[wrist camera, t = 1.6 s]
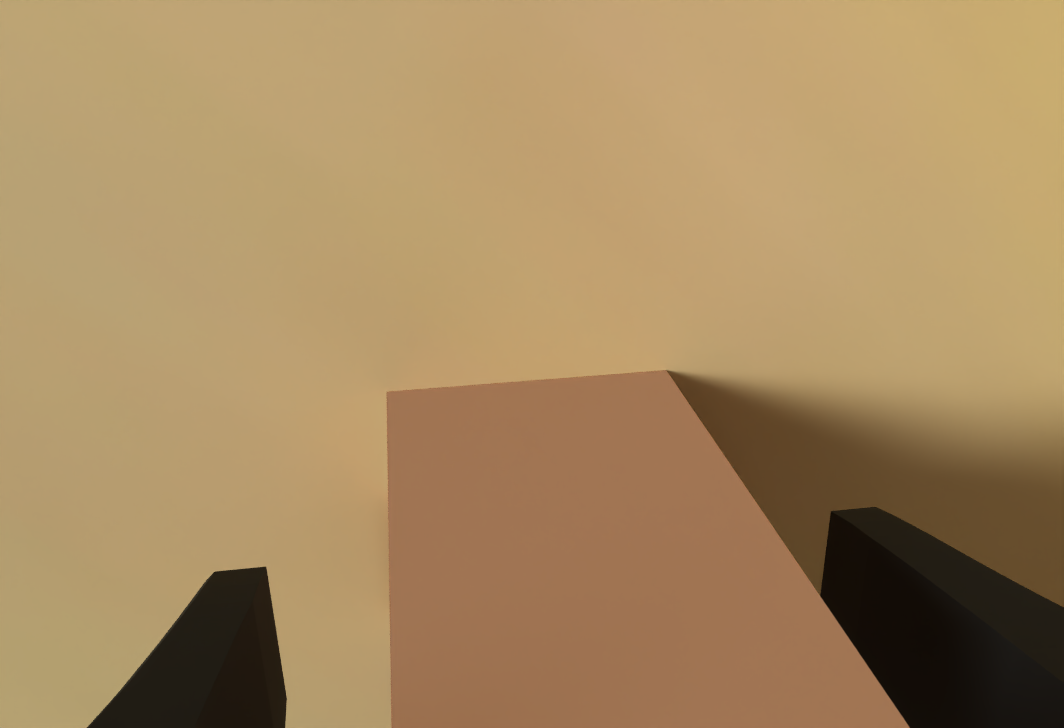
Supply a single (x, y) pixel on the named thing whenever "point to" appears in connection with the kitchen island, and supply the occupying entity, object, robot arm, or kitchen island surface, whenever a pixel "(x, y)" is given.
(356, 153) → the kitchen island surface
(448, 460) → the peg
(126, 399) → the kitchen island surface
